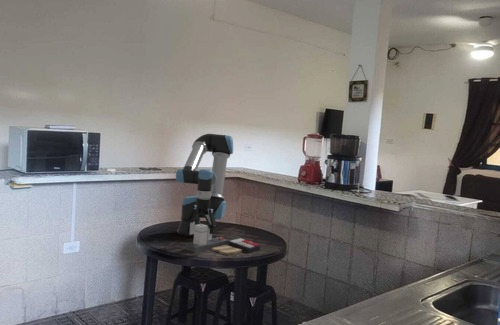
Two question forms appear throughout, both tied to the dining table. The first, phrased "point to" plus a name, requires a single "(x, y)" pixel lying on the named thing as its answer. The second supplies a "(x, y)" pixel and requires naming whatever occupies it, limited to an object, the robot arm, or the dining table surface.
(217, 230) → the dining table surface
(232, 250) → the wooden board
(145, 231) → the dining table surface
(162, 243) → the dining table surface
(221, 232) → the dining table surface
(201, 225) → the block
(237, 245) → the calculator
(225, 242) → the grey handheld radio
